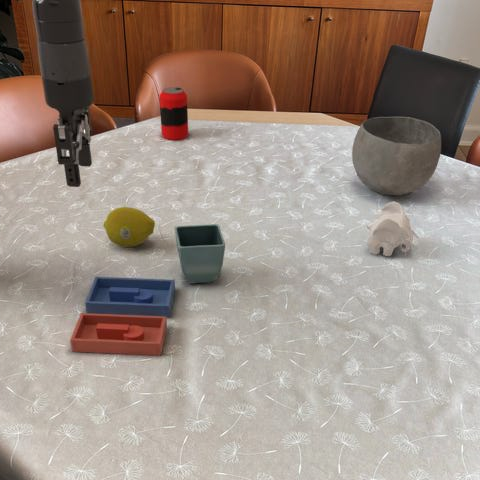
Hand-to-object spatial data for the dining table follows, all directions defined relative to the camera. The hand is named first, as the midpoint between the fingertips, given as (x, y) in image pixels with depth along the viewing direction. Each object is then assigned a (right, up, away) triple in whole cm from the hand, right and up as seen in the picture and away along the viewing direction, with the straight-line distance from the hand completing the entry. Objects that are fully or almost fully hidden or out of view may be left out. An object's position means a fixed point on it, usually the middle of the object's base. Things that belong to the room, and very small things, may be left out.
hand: (80, 175), depth 111 cm
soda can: (+9, +40, +75) cm, 85 cm away
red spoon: (+7, -27, +2) cm, 28 cm away
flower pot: (+19, -13, +18) cm, 30 cm away
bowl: (+64, +16, +50) cm, 83 cm away
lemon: (+4, -4, +27) cm, 28 cm away
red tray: (+7, -28, +2) cm, 29 cm away
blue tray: (+7, -20, +11) cm, 24 cm away
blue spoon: (+7, -19, +11) cm, 23 cm away
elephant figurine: (+59, -5, +28) cm, 66 cm away
